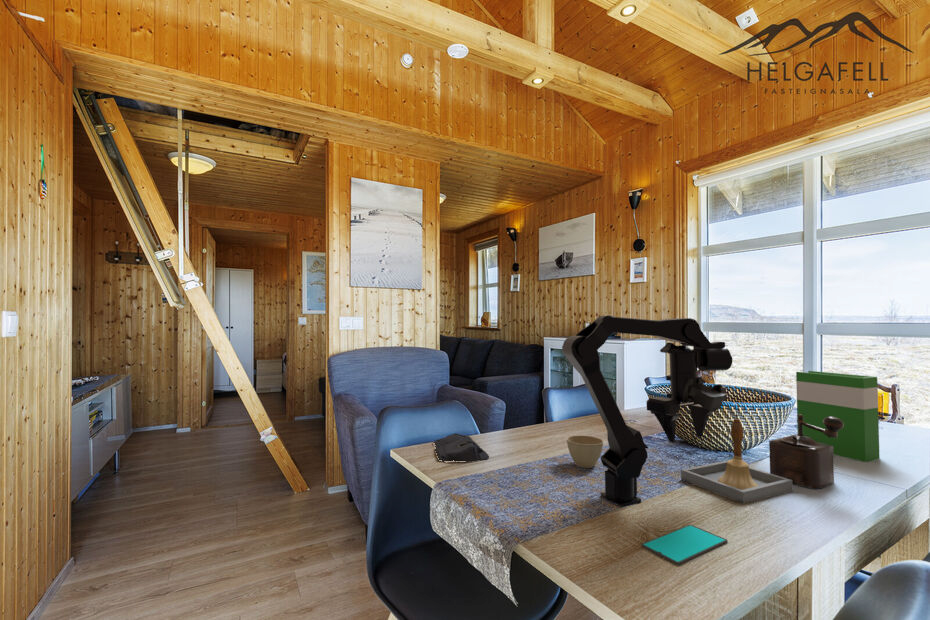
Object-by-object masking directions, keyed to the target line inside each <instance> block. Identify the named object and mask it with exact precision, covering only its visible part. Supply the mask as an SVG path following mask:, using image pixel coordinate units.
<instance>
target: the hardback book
mask: <svg viewBox="0 0 930 620" xmlns="http://www.w3.org/2000/svg"><path fill="white" fill-rule="evenodd" d="M795 373H796V374H795V376H796V377H795V379H796V380H795V381H796V419H797V420H798V417H797V416H798V415H799V414H801V415H803V417H804V418H803V420H804V422H805V423H807V424H809V425H813V426H816V427H819V428H821V429H824V430H825V429H826V427H825V425H824V423H823V419H824V418H826V417H829V416H833V417H837V418H839V419H840V420H841V421H843V423H844V426H843V429H841V430H839V431H838V432H837V435H838V437H837V438H833V437H830V438H829V437H828V436H827V435H825V434H824V433H822V432H820V431H817V430H814V429H811V428H808V427H806V426H804V425H803V434H804V436H807V437H810V438H812V439H814V440H815V441H816V442H819V443H823V444H828V445H832V446H833V456H839V457H843V458H847V459H850V460H855V461H859V462H864V463H869V462H872V461H873V462H874V461H876V460H880V459H881V458H880V431H879V430H880V428H879V427H880V426H879V425H880V424H879V423H880V422H879V396H878V395H879V394H878V393H879V391H878V389H879V388H878V376H870V375H861V374H860V375H859V374H858V375H857V374H850V373H849V374H848V373H838V372H827V371H826V372H825V371H816V370H808V371H807V372H806V371H795ZM797 420H796V426H797V428H796V429H797V432H798V422H797Z"/></svg>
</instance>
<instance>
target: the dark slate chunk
mask: <svg viewBox="0 0 930 620" xmlns="http://www.w3.org/2000/svg"><path fill="white" fill-rule="evenodd" d="M433 443H435V445H436V446H435V447H436V449H435V451H436V453H437V456H438V458H439V460H442V461H453V460H454V461H475V462H477V461H476V460H479V461H483V460H489V459H490V456H489V454H488V453H487V452H486V451H485V450H484V449H483V448H482V447H480V446H479V443H477V442H476V441H475V440H473V439H472V437H471V436H469V435H466V434H460V433H456V432H455V433H452V434H449V435H447V436H444V437H442V438H439V439H437V440H435V441H433ZM433 443H432V444H433Z"/></svg>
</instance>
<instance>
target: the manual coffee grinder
mask: <svg viewBox="0 0 930 620" xmlns="http://www.w3.org/2000/svg"><path fill="white" fill-rule="evenodd" d="M797 417H798V420H796V423H797V422H798V431H797V433H796V434H791V435H789V436H788V435H787V436H784V437H780V438H776V439H772V440H769V442H768V445H769V446H768V447H769V449H768V450H769V473H771V474H774V475H777V476H780V477H784V478H787V479H790V480H792V484H793V485H797V486H801V487H805V488H810V489H813V490H818V489H823V488H826V487H829V486H831V485H832V484H834V482H835V473H834V472H835V471H834V465H835V463H834V454H833V446H832V445H828V444H823V443H819V442H816V441H815V440H814V439H812V438H810V437H807V436H804V434H803V425H804V426H806V427H808V428H811V429H814V430H817V431H820V432H822V433H824V434H825V435H827V436H828V437H829V438H830V437H833V438H837V437H838V435H837V432H838V431H839V430H841V429H843V426H844V423H843V421H841V420H840V419H839V418H837V417H833V416H829V417H826V418H824V419H823V423H824V425H825V427H826V429H825V430H824V429H821V428H819V427H816V426H813V425H809V424H807V423H805V422H804V420H803V418H804V417H803V415H801V414H799V415H798V416H797V415H796V418H797Z"/></svg>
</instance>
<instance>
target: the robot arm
mask: <svg viewBox="0 0 930 620" xmlns="http://www.w3.org/2000/svg"><path fill="white" fill-rule="evenodd" d="M613 333H614V334H626V335H636V336H637V335H640V336H651V337H654V338H655V337H656V338H658V339H660V340H664V341H668V342H666V343H665V345H664V346H663V347H662V348H660V351H659V352H660V353H662V354H663V353H664V354H665V353H666V354H668V355H669V375H666V376H665V378H666V379H665V380H666V381H670V383H669V384H670V392H667V393H666V397H664V396H655V397H649V398H648V399H647V400H646V410H647V411H649V412H650V413H651V414H652V415H654V416H655V418H656V420H657V422H658V423H659V424H660V426H661V428H662V430H663V432H664V433H665V435H666V437H667V439H668V441H669V442H670V443H675V442H676V441H675V440H676V432H677V431H676V428H677V427H676V424H677V420H678V418H679V417H680V416H681V414H680V413H679V412H680V409H681V407H688V408H689V412H690V416H691V419H692V420H691V421H692V424H693V428H694V432H695V435H696V437H698V438H702V437H703V435H704V432H705V429H706V427H707V423H708V420H709V417H710V415H712V413H714V412H715V411H718V410H719V409H721V408H722V407H723V402H726V401H728V397H727V395H728V393H727V387H726V386H724V385H723V384H715V385H713V386H712V385H706V384H704V379H703V377H702V376H700V375H698V370H699V371H701V372H720V371H721V372H722V371H728V370H729V369H731V367H732V365H733V356H732V354H731V352H730V350H729V349H728V348H727V347H726V342H725V341H712V342H711V341H710V340H709V339H708V337H707V336H706V335H705V334H704V332H703V331H702V329H701V326H700V324H699V323H698V321H697V320H696V319H695V318H690V317H687V318H686V317H683V318H680V317H679V318H678V317H677V318H667V319H666V318H665V319H658V320H657V319H656V320H655V319H654V320H652V319H642V318H632V317H622V316H621V317H620V316H613V315H608V314H607V315H599V316H598V317H597V318H595V320H593V321H592V322H591V323H590V324H589V325H587V326H585V327H584V328H583V329H581V330H580V331H578V332H577V333H576V334H575V335H571V336H568V337H566V339H565V340H564V341H563V344H562V347H561V350H562V353H563V355H564V356H565V357H566V359H567V361H568V362H569V363H570V365H571V366H572V367H573V368H574V369H575V371H577V373H579V375H580V376H581V378H582V381H583V382H584V384H585V387H586V388H587V390H588V393H589V395H590V397H591V399H592V401H593V403H594V406H595V407H596V410H597V411H598V414H599V415H600V417H601V420H602V422H603V424H604V426H605V428H606V434H607V435H606V436H607V437H606V438H607V443H608V446H609V448H608V449H607V450H606V451H605V452H604V453H603V454H602V455H600V460H601V464H602V466H603V467H605V468H606V469H607V470H605V471H604V492H601V493H600V497H602V498H604V499H606V500H608V501H610V502H612V503H613V504H615V505H618V506H619V507H622V506H628V505H632V504H637V503H640V502H642V498H641V497H638V479H639V478H640V475H641V473H642V469H643V466H644V465H645V464H646V462H647V459H648V457H649V456H648V455H649V454H648V451H647V449H649V446H648V445H646V443H645V442H644V439H643V435H642V432H641V431H639V430H637V429H635V428H633V427H631V426H629V425H627V423H626V421H625V418H624V417H623V414H622V413H621V410H620V409H619V406H618V404H617V402H616V400H615V397H614V396H613V393H612V392H611V389H610V387H609V385H608V384H607V383H608V382H607V381H606V379H605V376H604V375H603V372H602V370H601V358H600V354H599V352H598V350H599V349H600V348H601V347H602V346H603V345H605V343H606V342H607V340H608V339H609V337H610V336H611V335H612V334H613ZM675 343H678V344H680V345H675ZM690 347H692V349H691V348H690Z"/></svg>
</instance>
